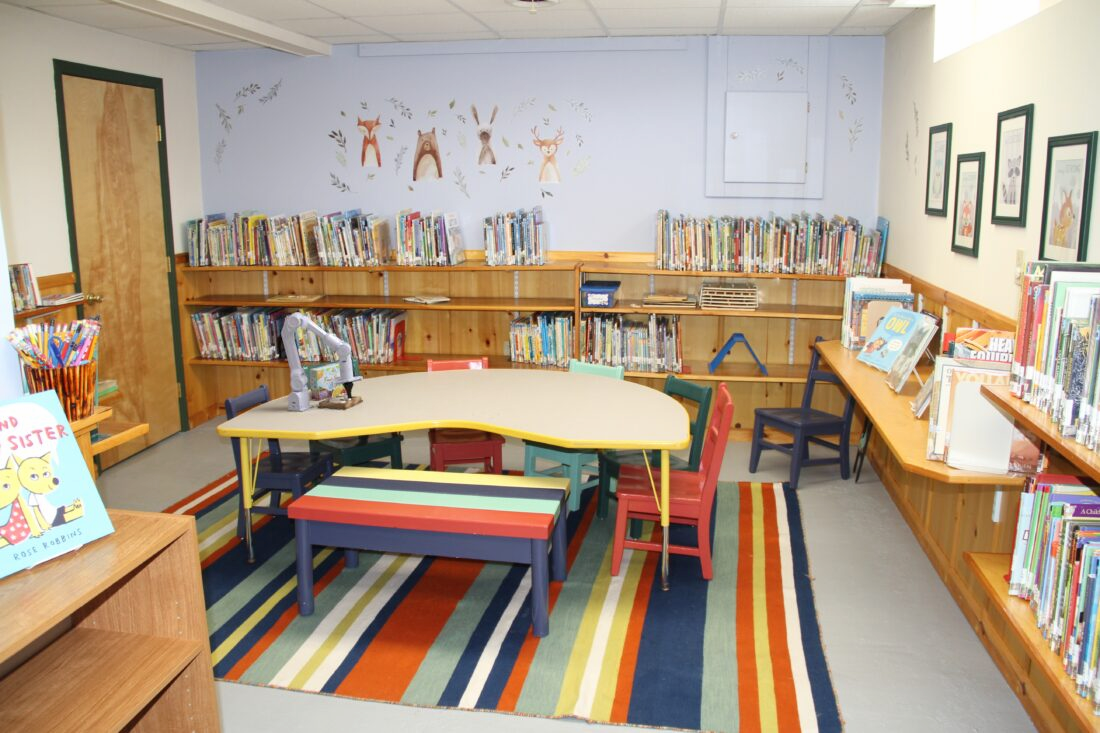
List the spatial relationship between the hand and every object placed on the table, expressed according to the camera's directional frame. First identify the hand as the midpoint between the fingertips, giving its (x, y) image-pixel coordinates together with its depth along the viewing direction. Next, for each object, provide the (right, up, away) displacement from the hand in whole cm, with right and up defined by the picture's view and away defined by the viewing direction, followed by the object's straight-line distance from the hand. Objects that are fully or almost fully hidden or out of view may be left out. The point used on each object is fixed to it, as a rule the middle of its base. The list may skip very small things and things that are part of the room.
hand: (349, 398), depth 404 cm
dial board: (-5, -3, +3) cm, 6 cm away
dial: (-5, -2, +2) cm, 6 cm away
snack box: (-14, 0, +23) cm, 26 cm away
